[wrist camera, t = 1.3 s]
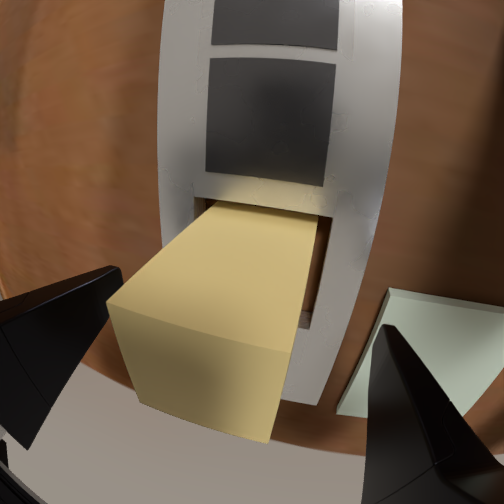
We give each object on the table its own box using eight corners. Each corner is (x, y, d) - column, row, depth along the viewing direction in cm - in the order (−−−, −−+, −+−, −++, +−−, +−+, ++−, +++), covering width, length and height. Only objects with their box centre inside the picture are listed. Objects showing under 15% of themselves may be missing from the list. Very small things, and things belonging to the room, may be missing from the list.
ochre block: (318, 216, 11) (291, 353, 5) (303, 300, 13) (268, 443, 7) (218, 200, 12) (105, 301, 6) (217, 283, 14) (140, 402, 8)
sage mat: (530, 311, 10) (535, 318, 9) (456, 414, 14) (458, 421, 13) (388, 287, 11) (390, 295, 11) (337, 406, 16) (336, 414, 15)
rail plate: (394, -24, 6) (400, -38, 5) (319, 389, 15) (316, 406, 14) (185, -28, 7) (169, -38, 6) (187, 357, 17) (178, 372, 16)
